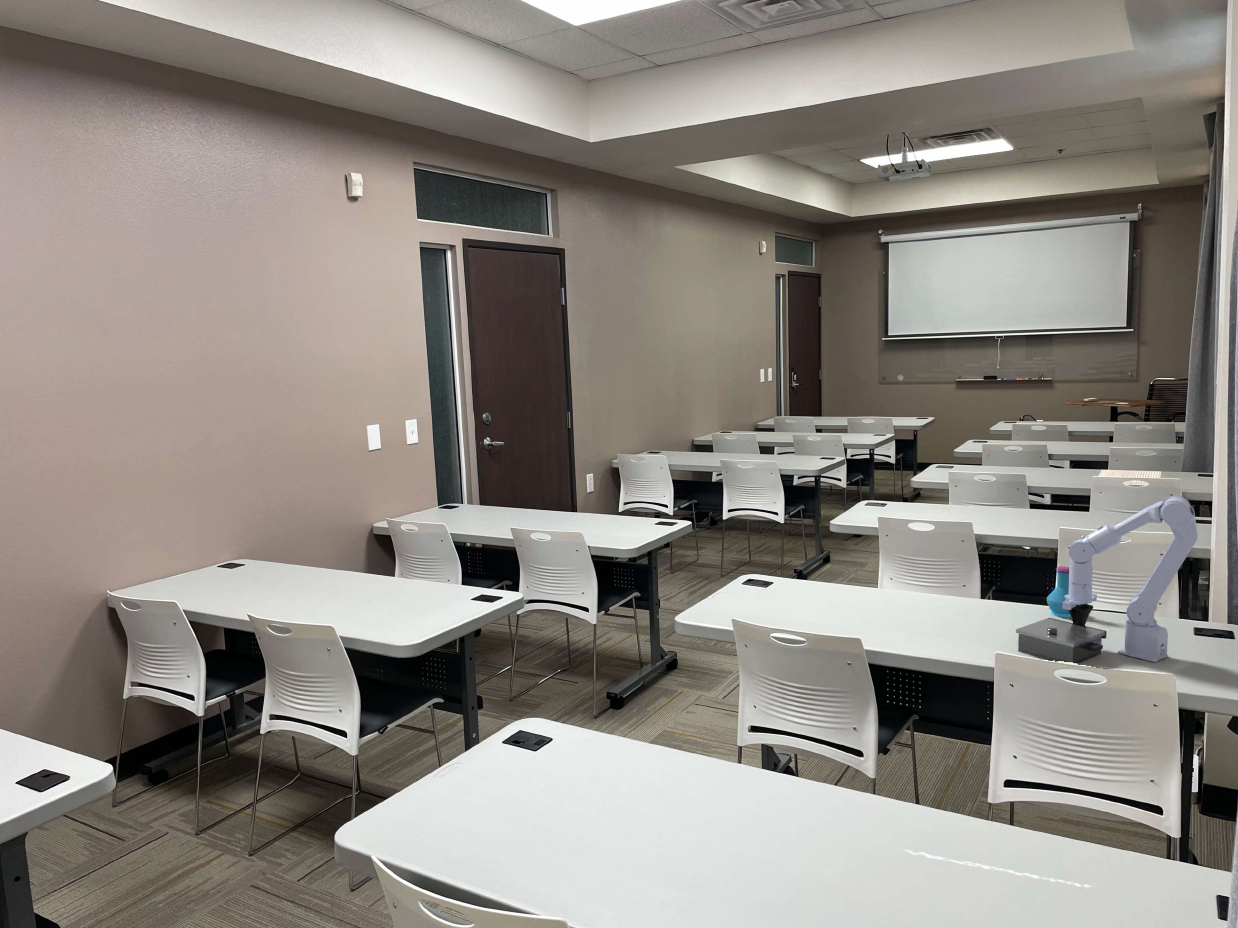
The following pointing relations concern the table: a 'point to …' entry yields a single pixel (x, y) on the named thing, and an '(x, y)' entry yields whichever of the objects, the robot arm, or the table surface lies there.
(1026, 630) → the cooker lid
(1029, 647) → the dark grey box
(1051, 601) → the perfume bottle
